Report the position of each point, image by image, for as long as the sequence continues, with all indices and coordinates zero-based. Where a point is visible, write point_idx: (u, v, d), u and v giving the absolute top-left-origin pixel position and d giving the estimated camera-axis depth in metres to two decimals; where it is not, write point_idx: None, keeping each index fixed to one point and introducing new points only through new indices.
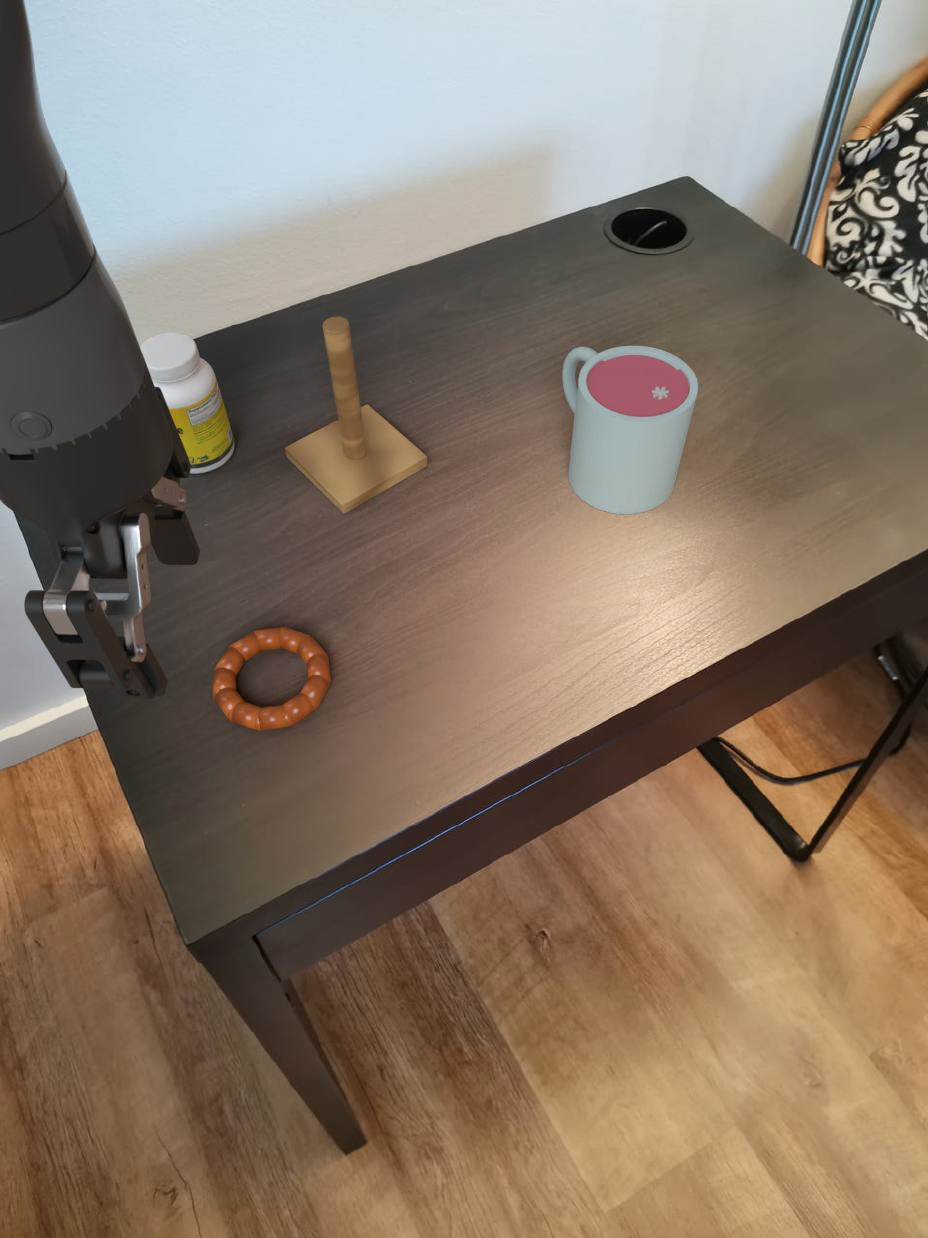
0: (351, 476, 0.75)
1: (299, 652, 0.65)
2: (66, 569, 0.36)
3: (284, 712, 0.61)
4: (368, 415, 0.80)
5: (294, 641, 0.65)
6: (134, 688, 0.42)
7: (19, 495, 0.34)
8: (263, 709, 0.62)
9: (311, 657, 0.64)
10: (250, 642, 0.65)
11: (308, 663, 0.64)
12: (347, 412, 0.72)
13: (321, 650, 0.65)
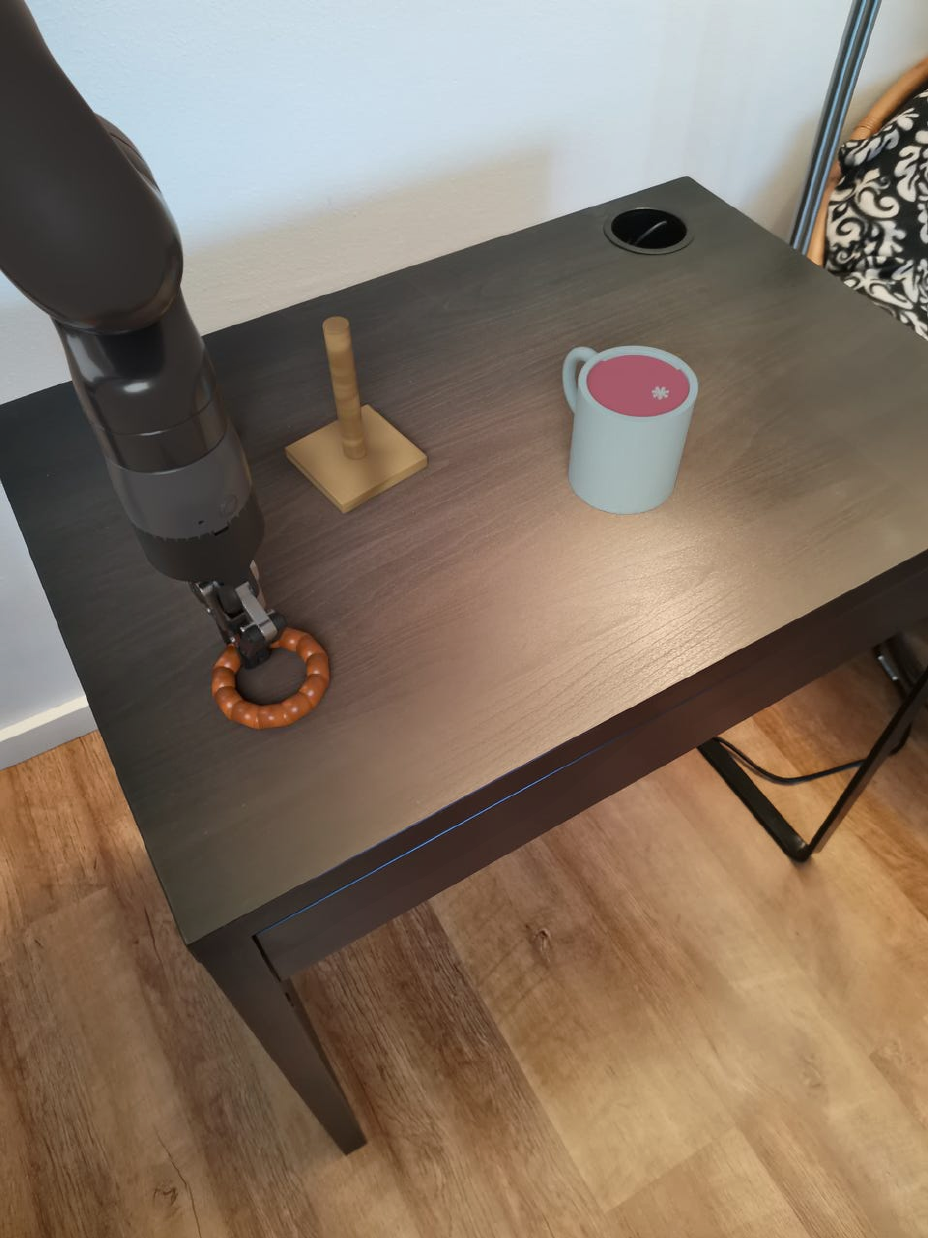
0: (351, 476, 0.75)
1: (298, 650, 0.65)
2: (252, 608, 0.55)
3: (283, 711, 0.61)
4: (368, 415, 0.80)
5: (293, 640, 0.65)
6: (261, 654, 0.64)
7: (213, 562, 0.52)
8: (262, 708, 0.62)
9: (310, 656, 0.64)
10: None
11: (307, 662, 0.64)
12: (347, 412, 0.72)
13: (320, 649, 0.65)
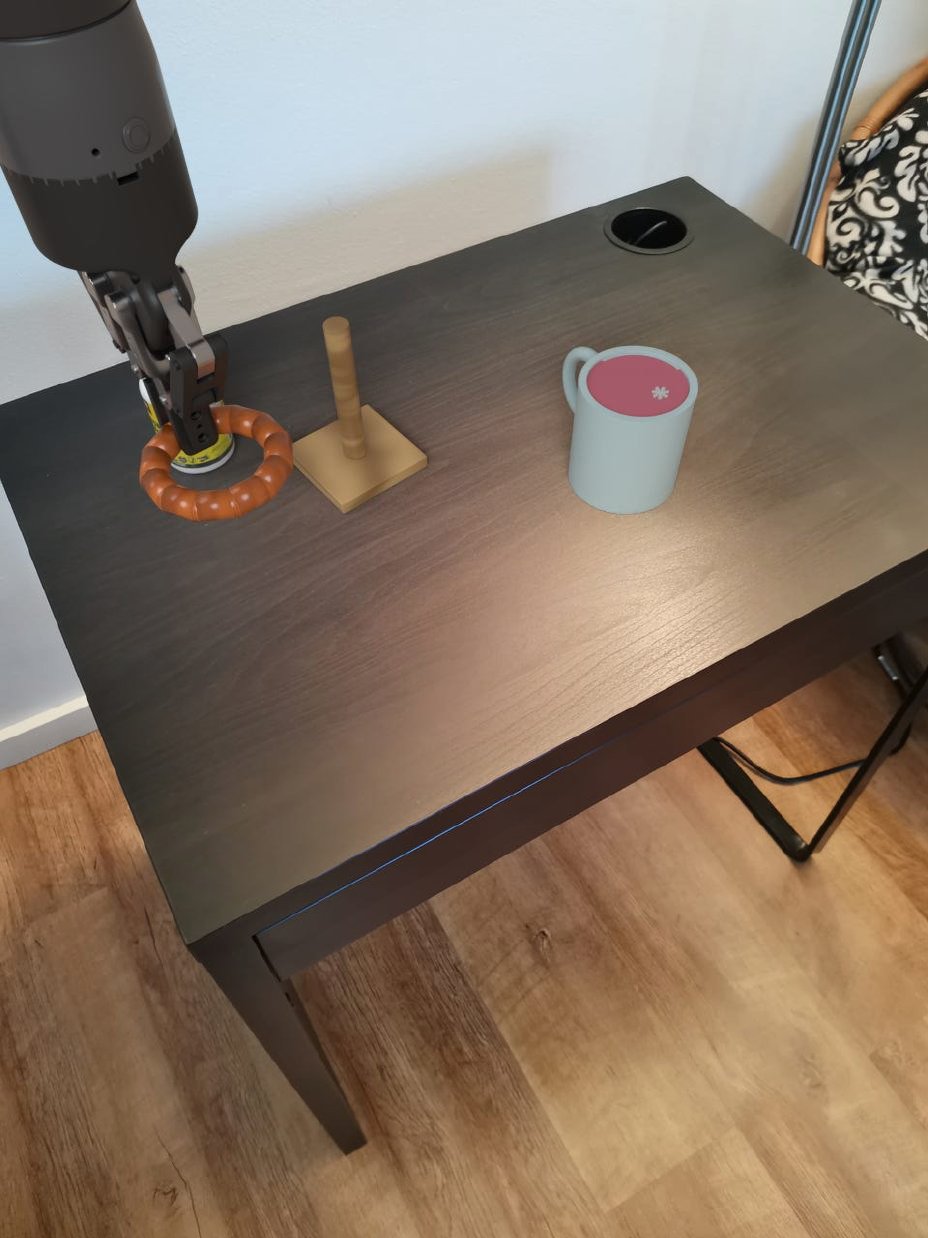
0: (351, 476, 0.75)
1: (254, 432, 0.50)
2: (180, 322, 0.41)
3: (230, 495, 0.47)
4: (368, 415, 0.80)
5: (248, 419, 0.50)
6: (204, 430, 0.49)
7: (120, 234, 0.38)
8: (202, 492, 0.47)
9: (269, 436, 0.49)
10: None
11: (265, 444, 0.49)
12: (347, 412, 0.72)
13: (282, 429, 0.50)
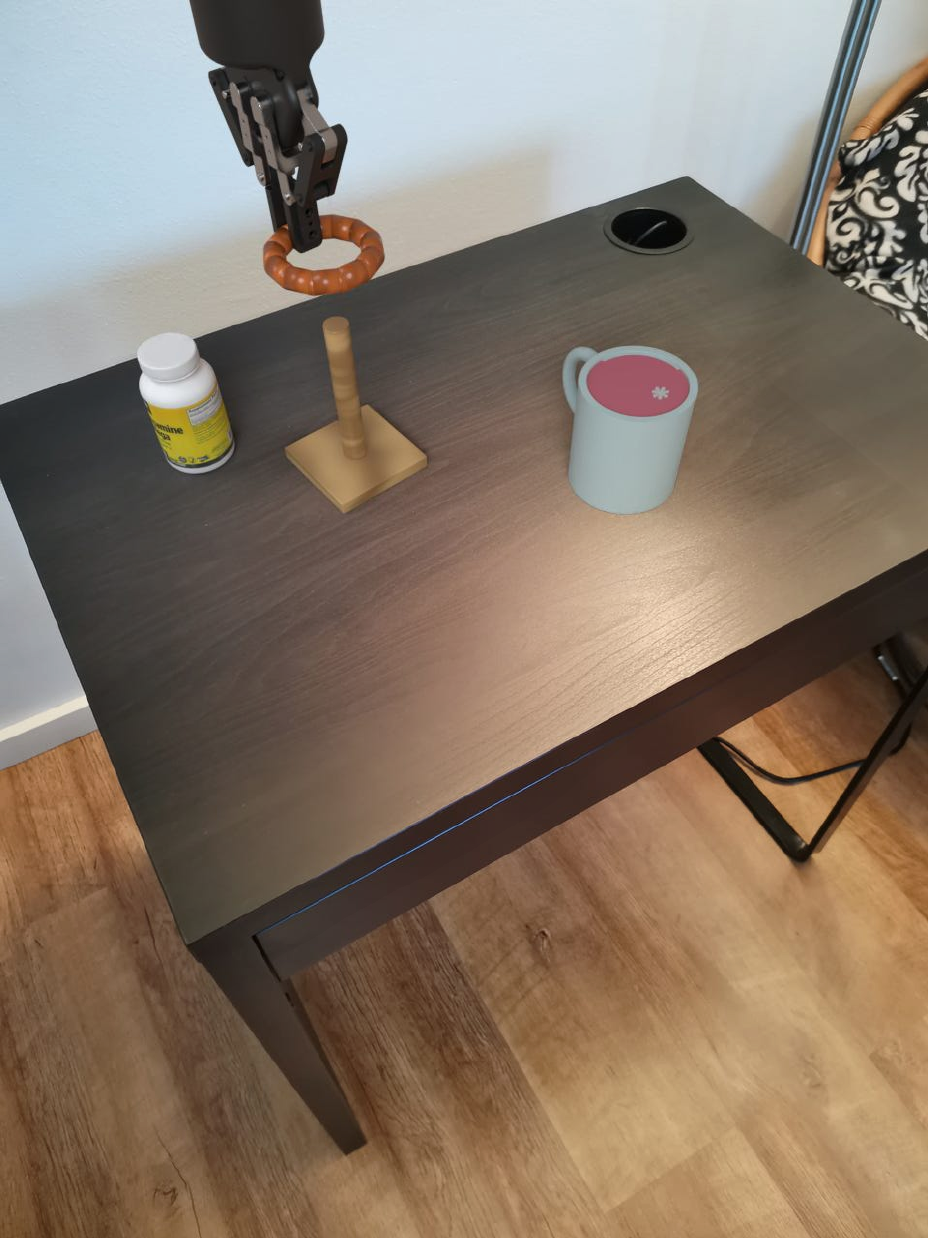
0: (351, 476, 0.75)
1: (351, 233, 0.63)
2: (311, 114, 0.53)
3: (338, 271, 0.59)
4: (368, 415, 0.80)
5: (346, 223, 0.63)
6: (314, 227, 0.61)
7: (275, 35, 0.50)
8: (316, 270, 0.59)
9: (364, 234, 0.62)
10: None
11: (361, 240, 0.62)
12: (347, 412, 0.72)
13: (374, 230, 0.62)
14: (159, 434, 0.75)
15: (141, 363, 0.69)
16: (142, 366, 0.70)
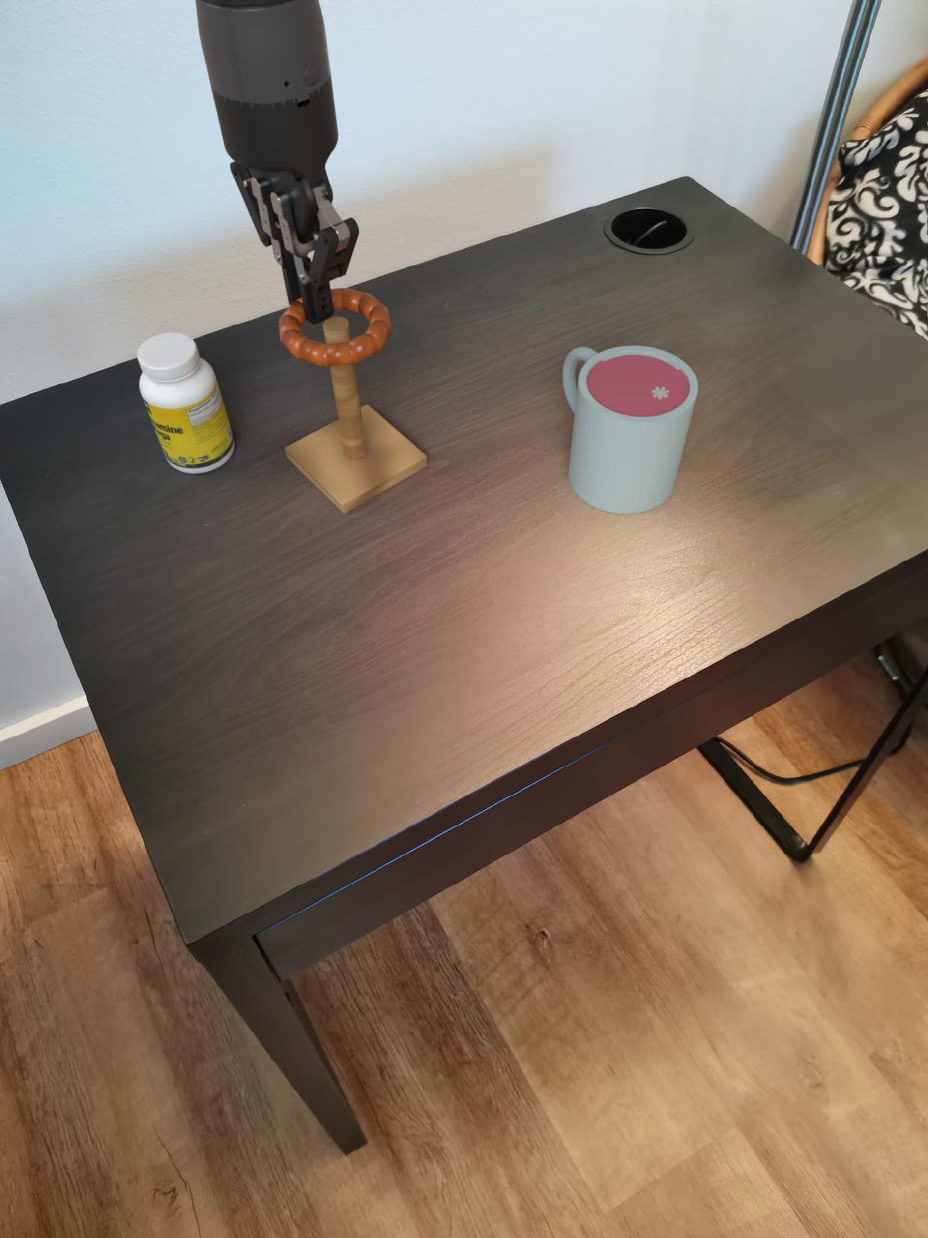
0: (351, 476, 0.75)
1: (361, 306, 0.68)
2: (326, 209, 0.58)
3: (349, 345, 0.64)
4: (368, 415, 0.80)
5: (356, 297, 0.68)
6: (326, 302, 0.66)
7: (294, 143, 0.55)
8: (329, 344, 0.65)
9: (373, 308, 0.67)
10: None
11: (370, 313, 0.67)
12: (347, 412, 0.72)
13: (382, 304, 0.68)
14: (159, 434, 0.75)
15: (141, 363, 0.69)
16: (142, 366, 0.70)
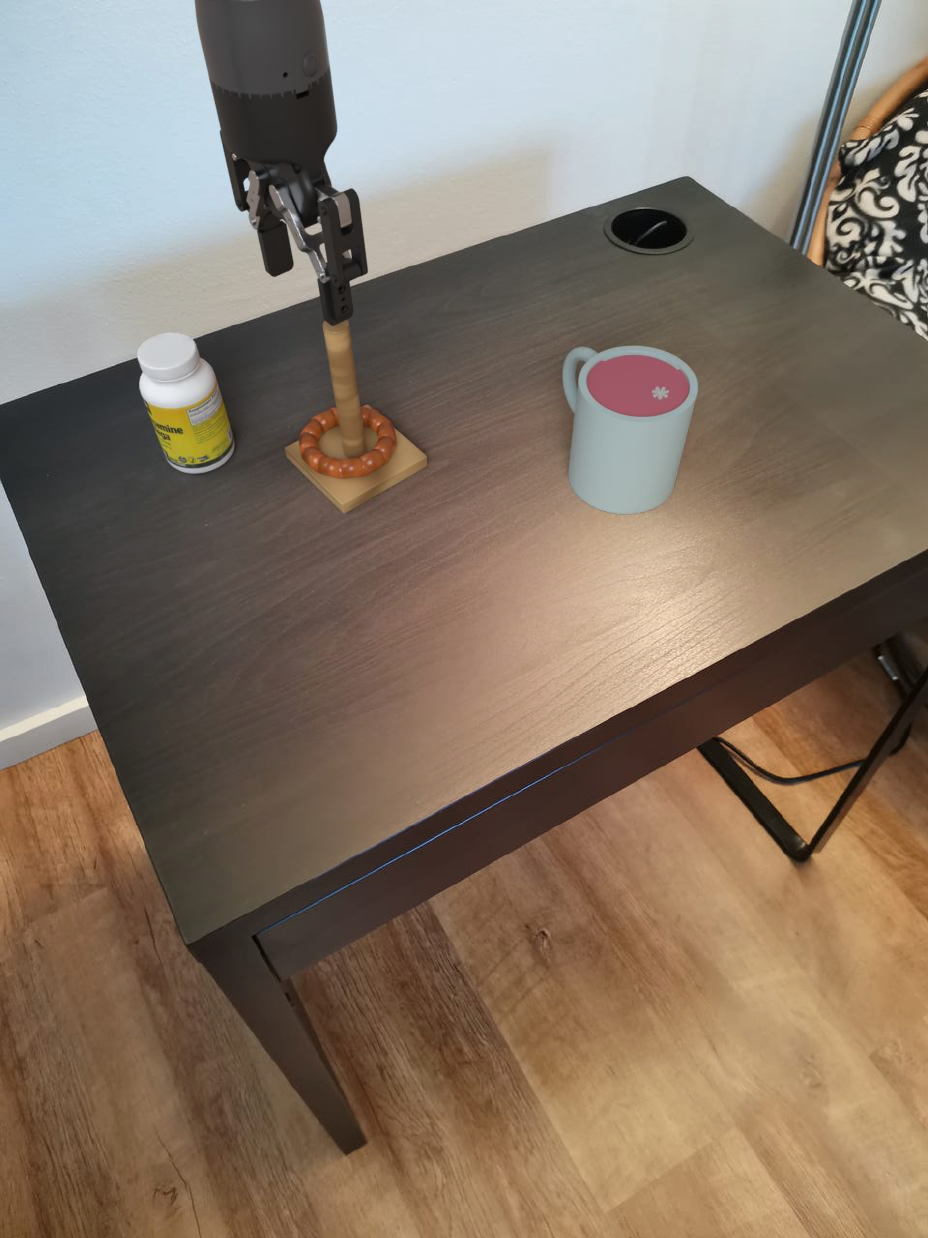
0: None
1: (369, 422, 0.78)
2: (323, 188, 0.57)
3: (361, 461, 0.74)
4: None
5: (364, 413, 0.78)
6: (346, 302, 0.64)
7: (293, 135, 0.55)
8: (344, 459, 0.74)
9: (380, 424, 0.77)
10: (328, 415, 0.78)
11: (377, 429, 0.77)
12: (347, 412, 0.72)
13: None
14: (159, 434, 0.75)
15: (141, 363, 0.69)
16: (142, 366, 0.70)
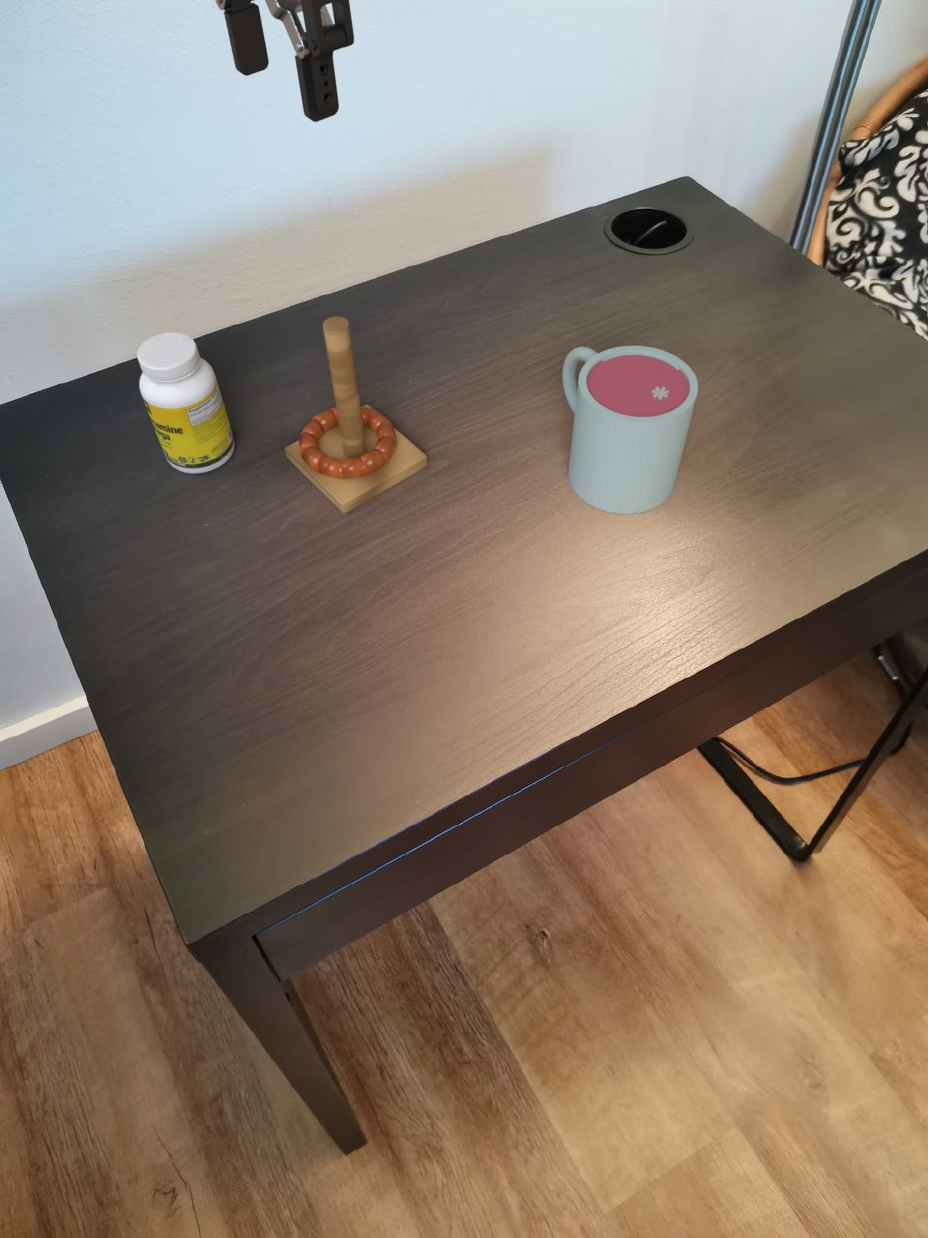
0: None
1: (369, 422, 0.78)
2: None
3: (361, 461, 0.74)
4: None
5: (364, 413, 0.78)
6: (329, 89, 0.54)
7: None
8: (344, 459, 0.74)
9: (380, 424, 0.77)
10: (328, 415, 0.78)
11: (377, 429, 0.77)
12: (347, 412, 0.72)
13: None
14: (159, 434, 0.75)
15: (141, 363, 0.69)
16: (142, 366, 0.70)
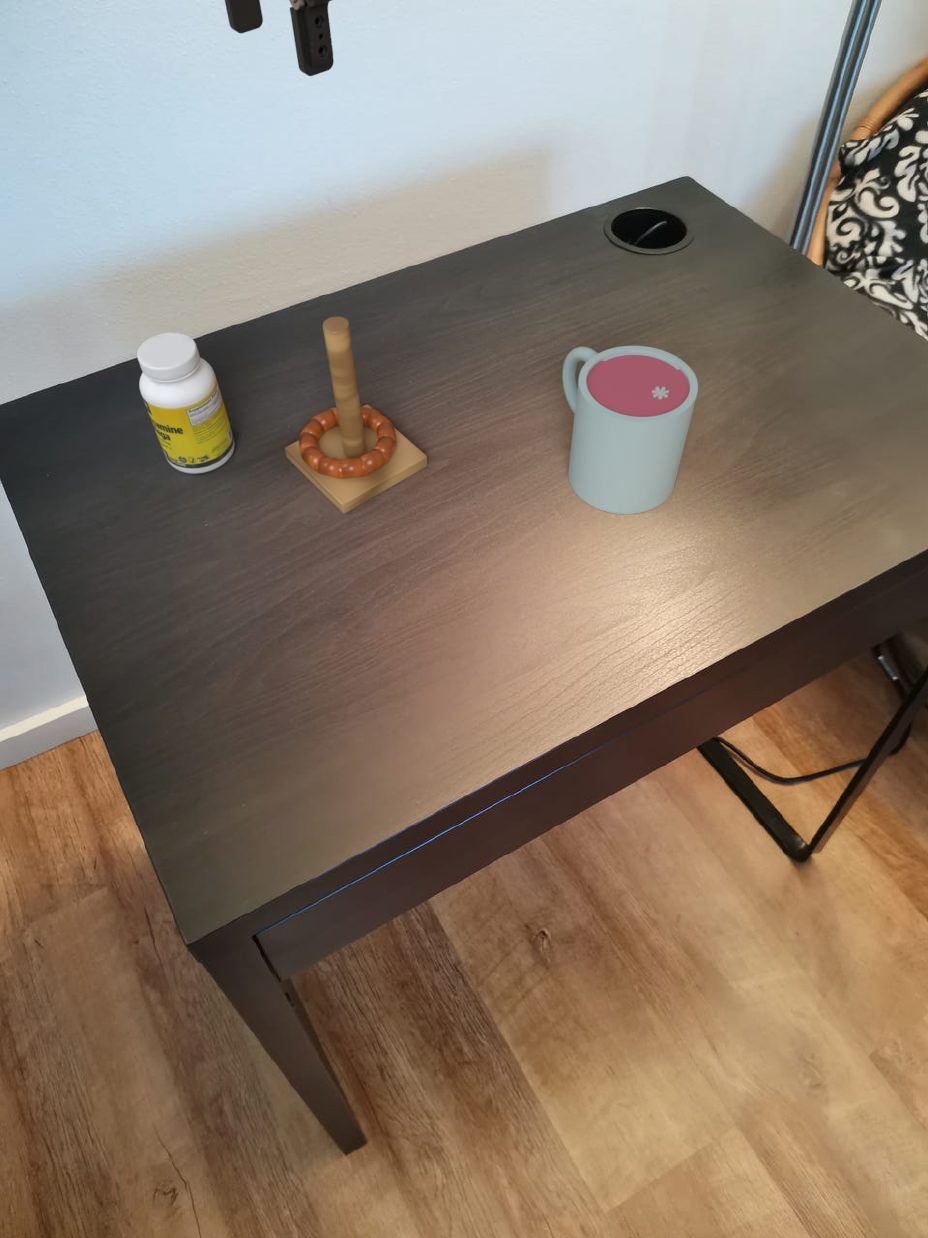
0: None
1: (369, 422, 0.78)
2: None
3: (361, 461, 0.74)
4: None
5: (364, 413, 0.78)
6: (324, 42, 0.54)
7: None
8: (344, 459, 0.74)
9: (380, 424, 0.77)
10: (328, 415, 0.78)
11: (377, 429, 0.77)
12: (347, 412, 0.72)
13: None
14: (159, 434, 0.75)
15: (141, 363, 0.69)
16: (142, 366, 0.70)
